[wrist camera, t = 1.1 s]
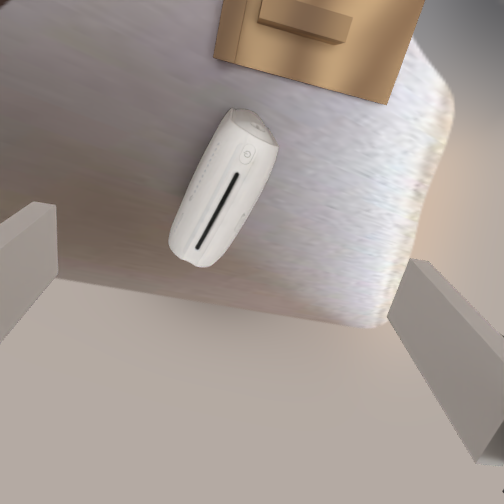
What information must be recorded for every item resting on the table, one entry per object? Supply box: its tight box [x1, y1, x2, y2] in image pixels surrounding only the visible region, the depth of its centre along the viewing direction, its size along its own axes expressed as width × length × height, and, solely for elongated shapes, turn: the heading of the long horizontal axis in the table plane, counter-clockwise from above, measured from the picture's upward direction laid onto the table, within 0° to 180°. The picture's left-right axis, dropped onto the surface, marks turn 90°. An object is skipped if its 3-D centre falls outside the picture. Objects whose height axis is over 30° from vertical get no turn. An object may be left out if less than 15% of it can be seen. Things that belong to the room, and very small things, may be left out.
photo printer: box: [168, 108, 279, 267], centre depth 29 cm, size 10×4×12 cm, turn 151°
